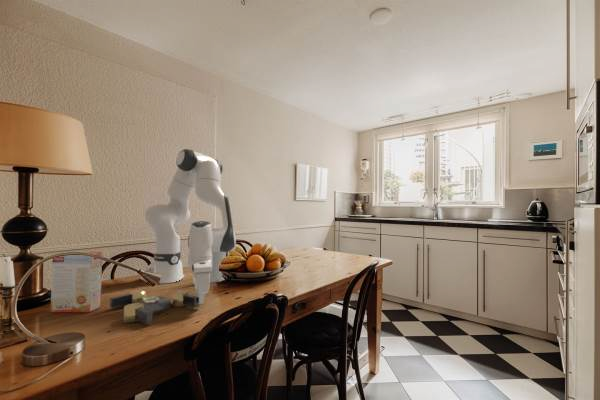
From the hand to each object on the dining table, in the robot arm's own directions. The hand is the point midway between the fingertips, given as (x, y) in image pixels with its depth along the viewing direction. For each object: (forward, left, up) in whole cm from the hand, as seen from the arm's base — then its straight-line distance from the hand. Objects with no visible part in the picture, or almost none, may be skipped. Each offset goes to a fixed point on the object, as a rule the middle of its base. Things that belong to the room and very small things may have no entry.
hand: (199, 299), depth 107 cm
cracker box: (-32, -29, -2) cm, 43 cm away
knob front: (-3, -21, -2) cm, 22 cm away
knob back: (-21, -16, -2) cm, 26 cm away
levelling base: (-11, -13, -2) cm, 17 cm away
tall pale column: (-22, +27, -2) cm, 35 cm away
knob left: (-3, -4, -2) cm, 5 cm away
